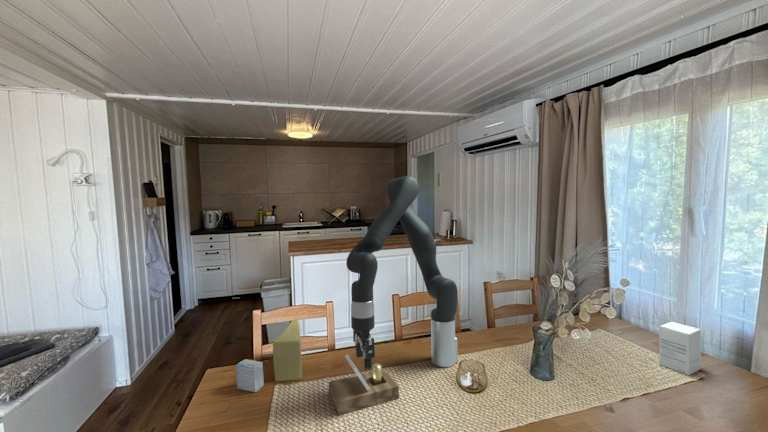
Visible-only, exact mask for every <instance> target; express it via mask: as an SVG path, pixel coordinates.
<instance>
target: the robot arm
mask: <svg viewBox="0 0 768 432" xmlns="http://www.w3.org/2000/svg"><path fill="white" fill-rule="evenodd" d="M385 189H386V196H387V199H388V201H389V202H390V204H389V205H388V206H387V207H385V209H384V210H383V211H382V212H381V213H380V214H379V215H378V216H377V217H376V218H375V219H374V221H373V222H372V224H371V225H370V227H369V228H368V230H367V231H366V233H365V235H364V237H363V238H362V239H361V240H359V242H358V243H357V244H356V245H355V246H354V247H353V248H352V250H350V252H349V254H348V256H347V258H346V264H345V265H346V268H347V269H348V270H349V271H350V272H352V273H353V274H354V273H355V274H359V276H358V280H355V281H353V282H352V284H351V290H350V292H351V293H350V294H351V303H350V322H351V323H350V325H351V326H350V327H351V330H353V331H352V333H353V336H352V337H353V338H352V340H353V342H354V345H355V357H356V358H357V359H359V358H363V359H364V360H363V363H364V364H363V365H364V370H365V371H366V370H370V369H372V365H373V363H372V361H373V358H375V339H374V337H372V335H371V333H370V332H371V331H372V330H373V329H374V328H375V303H374V284H375V281H376V275H377V272H378V260H377V258H376V255H374V254H373V253H376V252H379V251H381V250H382V249H383V248H384V245H385V244H386V242H387V240H388V238H389V236H390V235H391V233H392V231H393V230H394V227H395V226H396V225H397V224H398V222H399V221H400V224H401V225H402V229H403V231H404V233H405V235H406V238H407V240H408V243H409V245H410V248H411V251H412V253H413V255H414V257H415V259H416V261H417V264H418V268H419V269H420V271H421V274H422V278H423V282H424V285H425V289H426V291H427V294H428V295H429V297H430V298H432V299H433V300H436V307H435V308H433V309H432V310H431V312H430V326H431V327H430V335H431V337H430V339H431V341H430V342H431V343H430V344H431V346H430V347H431V350H430V351H431V363H432V364H433V365H435V366H436V367H441V368H449V367H453V366H454V365H456V364H457V363H458V361H459V359H458V358H459V357H458V355H459V353H458V338H457V337H456V314H457V311H458V286H457V284H456V282H455V281H453V280H452V279H450V278H447V277H444V276H443V275H442V273H441V271H440V269H439V267H438V265H437V244H436V241H435V239H434V236H433V233H432V231H431V229H430V227H429V226H428V225H427V224H426V223H425V222H424V220H422V219H421V218H420V217H419V215H418V214H417V213H416V212H415V211H414V209H413V207H412V204H413V202H414V201H415V199H416V198H417V197H418V196H419V193H420V185H419V182H418V180H417V179H416V178H415V177H413V176H411V175H405V176H400V177H398V178H394V179H391V180H389V181H388V182H387V184H386V187H385Z"/></svg>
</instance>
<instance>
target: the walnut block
mask: <svg viewBox="0 0 768 432" xmlns="http://www.w3.org/2000/svg"><path fill="white" fill-rule="evenodd" d="M360 374H361V375H362V377H363V378H364V380H365V381H366V383H367V384H368V386H369V387H370V390H369V391H367V389H366V388H365V386H364V385H363V383H362V382H361V380H360V379H359V377H358V376H357V374H355V375H351V376H348V377H343V378H340V379H335V380H331V381H328V395H329V398H330V400H331V402H332V404H333V407H334V410H335V412H336V414H337V416H342V415H345V414H346V415H347V414H349V413H352V412H356V411H360V410H363V409H365V408H366V409H367V408H370V407H374V406H376V405H380V404H384V403H388V402H390V401H394V400H398V399H400V387H399V384H397V382H396V381H395V379H393V377H392V376H391V374H389V372H388V371H387V370H386V368H382V384H379V385H376V386H373V371H369V372H364V373H360Z"/></svg>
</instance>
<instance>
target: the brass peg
mask: <svg viewBox="0 0 768 432" xmlns="http://www.w3.org/2000/svg"><path fill="white" fill-rule="evenodd" d="M371 369H372V371H373V386H376V385H379V384H382V369H383V368H382V364H381V363H374V364H373V363H372V368H371ZM372 371H371V372H372Z"/></svg>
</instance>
